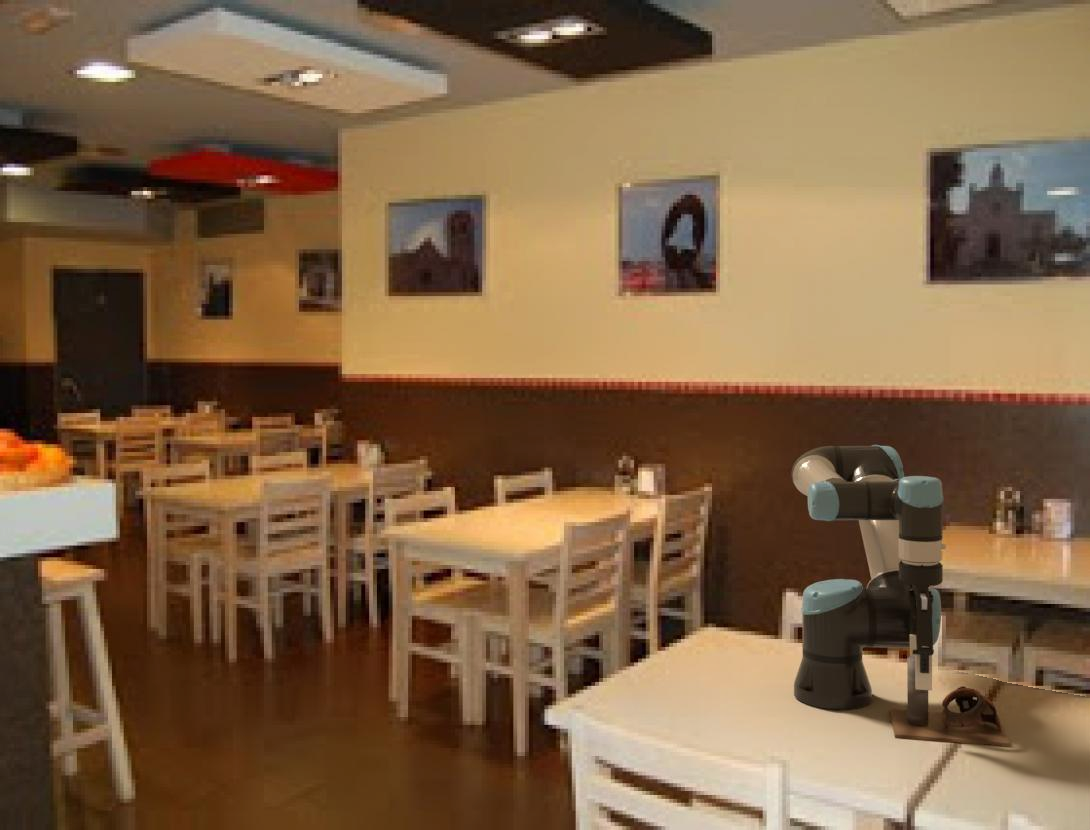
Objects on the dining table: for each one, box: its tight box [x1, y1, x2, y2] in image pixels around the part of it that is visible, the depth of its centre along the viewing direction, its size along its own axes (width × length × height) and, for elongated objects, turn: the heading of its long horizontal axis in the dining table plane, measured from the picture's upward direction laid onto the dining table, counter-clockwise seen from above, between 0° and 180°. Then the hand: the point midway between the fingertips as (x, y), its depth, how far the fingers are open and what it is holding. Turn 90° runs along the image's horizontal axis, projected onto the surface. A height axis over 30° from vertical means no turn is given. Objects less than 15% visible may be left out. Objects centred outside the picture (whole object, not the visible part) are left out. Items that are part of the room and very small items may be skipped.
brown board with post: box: [889, 656, 1011, 747], centre depth 178 cm, size 19×13×13 cm
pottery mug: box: [941, 685, 1002, 732], centre depth 177 cm, size 12×10×8 cm
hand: (920, 678), depth 179 cm, fingers open, 11 cm apart
